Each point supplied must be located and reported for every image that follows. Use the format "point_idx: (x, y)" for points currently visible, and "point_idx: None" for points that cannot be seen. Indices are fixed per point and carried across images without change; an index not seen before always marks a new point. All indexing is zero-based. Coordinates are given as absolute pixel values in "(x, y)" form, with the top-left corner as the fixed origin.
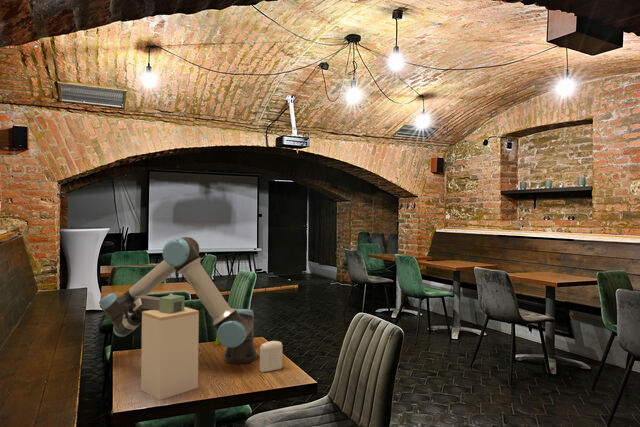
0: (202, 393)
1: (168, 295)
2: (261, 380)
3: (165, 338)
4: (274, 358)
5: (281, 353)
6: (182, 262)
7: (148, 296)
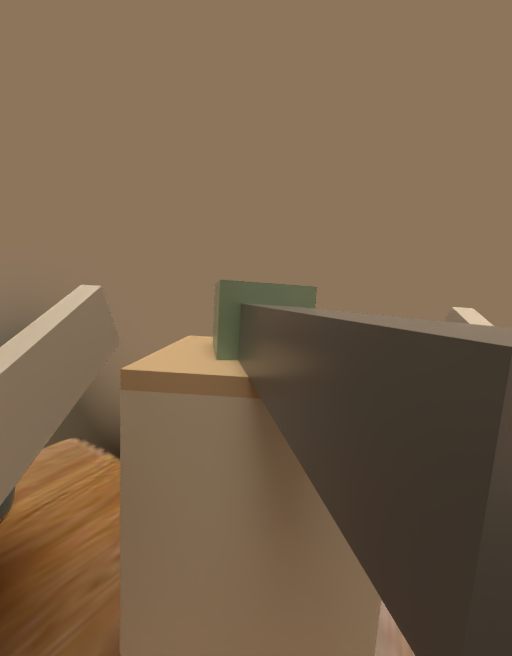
0: None
1: (75, 312)
2: (74, 493)
3: None
4: None
5: None
6: None
7: (339, 315)
